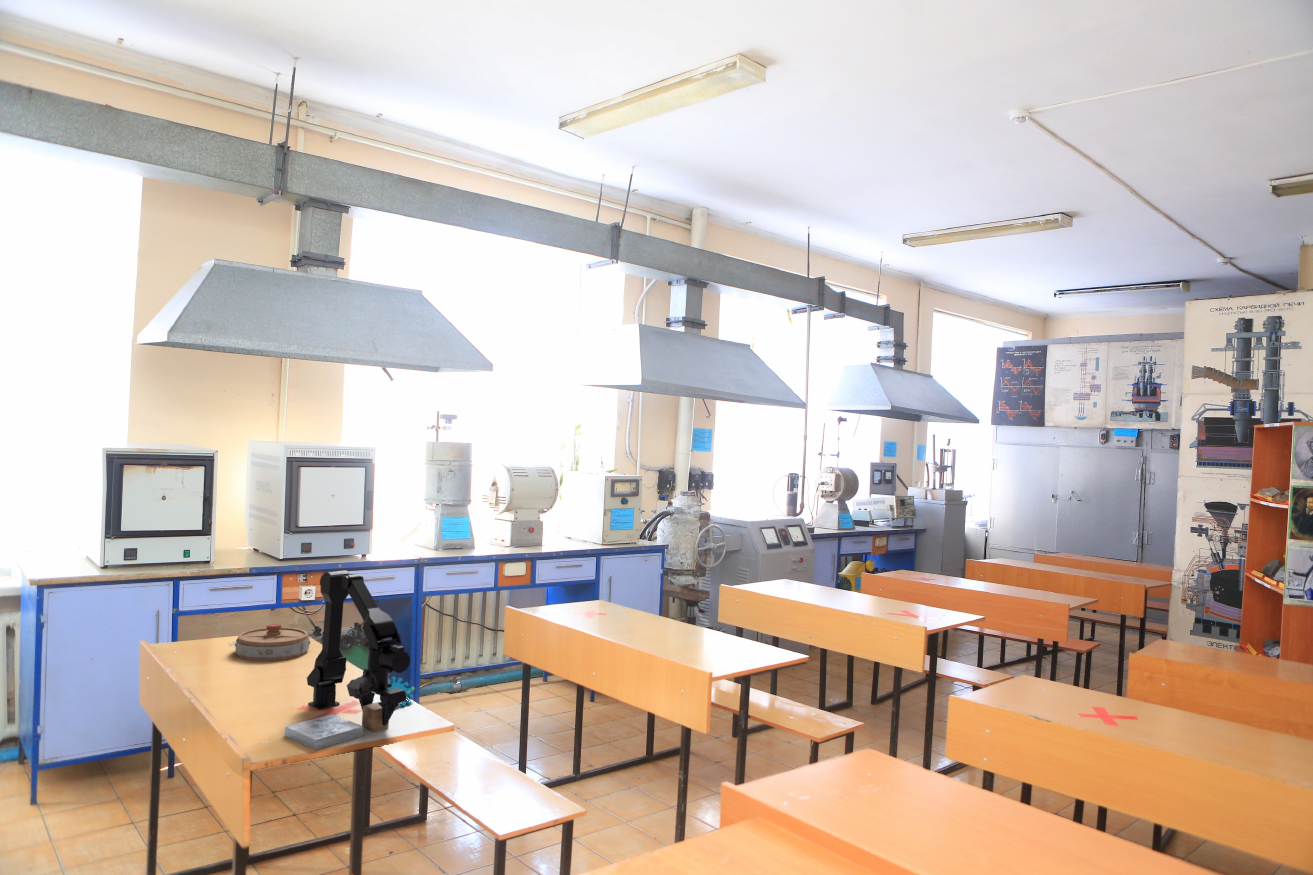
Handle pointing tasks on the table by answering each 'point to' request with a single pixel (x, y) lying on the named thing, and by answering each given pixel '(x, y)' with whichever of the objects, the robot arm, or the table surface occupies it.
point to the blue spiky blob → (401, 686)
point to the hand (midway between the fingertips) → (375, 721)
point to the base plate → (323, 731)
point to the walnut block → (373, 717)
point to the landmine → (272, 643)
